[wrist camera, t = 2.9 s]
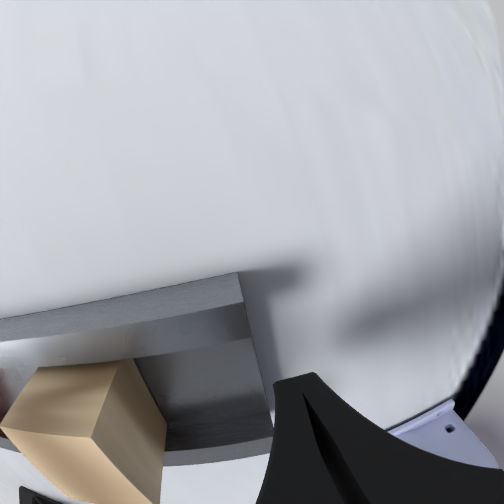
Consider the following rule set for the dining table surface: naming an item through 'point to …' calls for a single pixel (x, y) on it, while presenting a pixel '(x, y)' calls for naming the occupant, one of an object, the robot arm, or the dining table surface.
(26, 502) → the phone stand
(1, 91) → the dining table surface
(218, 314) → the chute
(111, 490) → the oak block
